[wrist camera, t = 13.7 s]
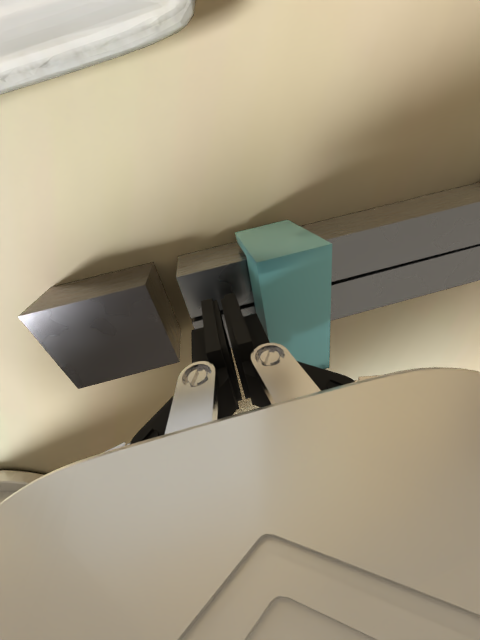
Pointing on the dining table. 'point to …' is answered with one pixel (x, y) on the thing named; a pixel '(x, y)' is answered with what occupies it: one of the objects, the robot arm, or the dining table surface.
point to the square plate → (78, 34)
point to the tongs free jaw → (393, 284)
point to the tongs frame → (227, 285)
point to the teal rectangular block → (291, 287)
